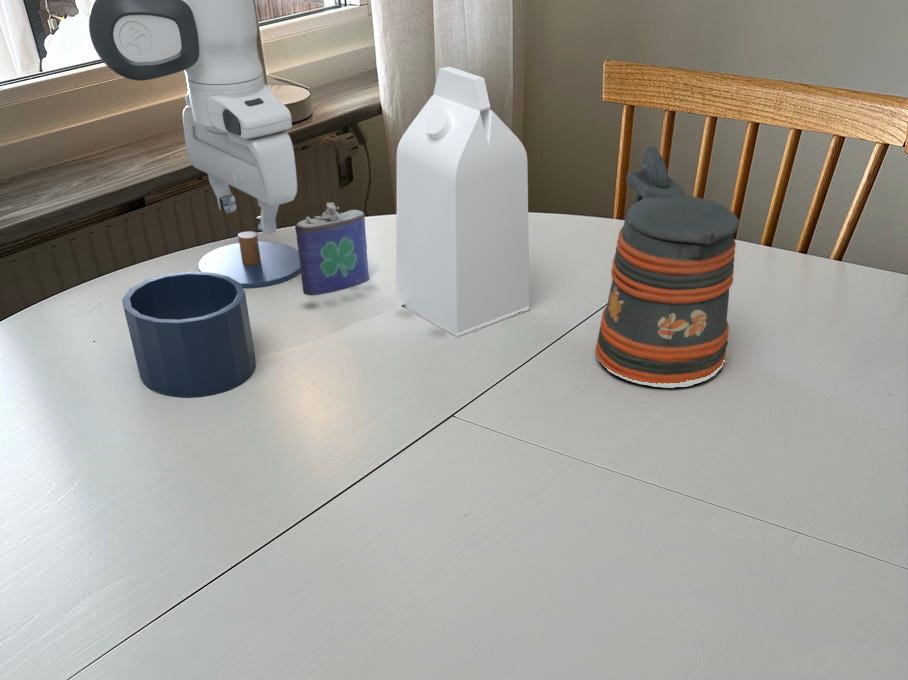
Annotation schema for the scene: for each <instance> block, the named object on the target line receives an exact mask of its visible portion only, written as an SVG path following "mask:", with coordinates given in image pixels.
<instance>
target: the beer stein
mask: <svg viewBox="0 0 908 680" xmlns="http://www.w3.org/2000/svg"><path fill="white" fill-rule="evenodd" d="M640 167H641V168H640V171H628V172H627V173H626V179H625V183H626V184H627V185H628V186H630V187H631V188H632V189H633V190H634V191H636V194H635V197H634V201H633V204H632V205H631V206H630V207H629V209H628V211H627V213H626V215H625V219H624V222H623V225H622V227H621V228H620V230H619V232H618V235H617V241H616V247H615V253H614V255H613V257H612V266H611V269H610V271H611V285H610V290H609V295H608V299H607V303H606V304H607V305H606V306H605V307H604V309H603V311H602V313H601V314H602V315H601V321H600V326H599V330H598V331H599V332H598V337H597V340H596V345H595V355H596V354H597V355H596V357H597V356H598V358H599V360H600V361H601V363H603V365H605V367H607V368H608V369H610V370H611V371H613V372H615V373H617V374H619V375H622V376H623V377H627V378H629V379H632V380H637V381H641V382H649V383H656V384H657V383H662V384H663V383H667V384H668V383H680V382H686V381H687V380H688V381H689V380H695V379H699V378H701V377H702V378H703V377H706V376H708V375H711V373H713V372H714V371H715V370H717V368H719V367H720V366H721V365H722V363H723V360H724V359H725V356H726V352H727V348H728V343H729V342H728V341H729V340H728V338H729V332H730V331H729V330H730V327H729V322H728V320H727V319H728V310H729V309H728V308H729V298H730V288H731V287H732V285H733V283H734V269H735V254H736V241H735V238H734V234H735V233H736V232H737V231H738V229H739V228H740V220H739V218H738V216H737V215H736V214H735V213H734V212H733V211H732V210H730V209H729V208H728V207H726V206H724V205H722V204H720V203H718V202H716V201H712V200H709V199H704V198H701V197H697V196H693V195H688V194H685V191H684V188H683V186H681V185H680V184H678V183H676V182H675V181H674V180H673V178H671V177H670V176H669V175H668V170H667V167H666V163H665V161H664V158H663V156H662V154H661V153H660V152H659V151H658V149H657V147H656V146H655V145H650V146H646V147H645V148H644V150H643V155H642V161H641V166H640ZM598 358H597V359H598ZM599 360H598V361H599ZM601 363H600V364H601ZM665 389H667V388H665ZM667 390H668V389H667Z"/></svg>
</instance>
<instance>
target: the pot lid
mask: <svg viewBox="0 0 908 680" xmlns="http://www.w3.org/2000/svg"><path fill="white" fill-rule="evenodd" d="M237 237H238V242H236V243H231V244H227V245H224V246H220V247H217V248H216V249H213V250H211V251H209V252H208V253H206V254H204V256H202V257H201V258H200V260H199V262H198V272H212V273H216V274H220V275H224V276H229V277H231V278H232V279H234V280H236V281H237V282H239V283H241V284H242V286H243V289H254V288H262V287H269V286H273V285H277V284H281V283H284V282H286V281H289V280H291V279H294V278H295V277H296V276H298V275H299V274H301V270H300V258H299V252H298V248H297V249H296V247H293V246H290V245H288V244H284V243H279V242H273V241H259V238H258V233H257V232H256V231H249V230H248V231H247V230H246V231H242V232H240V233H238V234H237Z"/></svg>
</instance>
